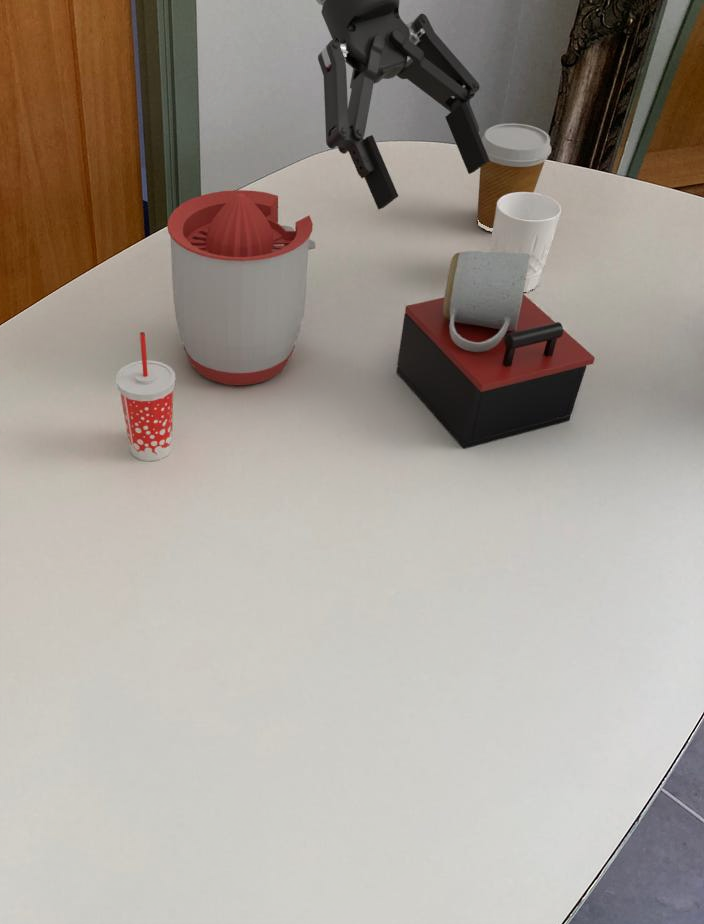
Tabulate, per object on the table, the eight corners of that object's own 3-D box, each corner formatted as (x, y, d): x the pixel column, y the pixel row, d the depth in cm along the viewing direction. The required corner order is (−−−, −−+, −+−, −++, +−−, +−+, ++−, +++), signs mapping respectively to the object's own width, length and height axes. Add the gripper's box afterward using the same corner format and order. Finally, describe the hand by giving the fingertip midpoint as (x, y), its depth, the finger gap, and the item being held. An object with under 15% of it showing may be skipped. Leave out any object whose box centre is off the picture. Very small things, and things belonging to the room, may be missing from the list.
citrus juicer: (342, 364, 118) (358, 197, 103) (222, 414, 112) (221, 244, 96) (264, 307, 127) (269, 145, 111) (149, 351, 120) (137, 185, 105)
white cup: (531, 302, 127) (550, 226, 119) (473, 286, 130) (487, 211, 122) (550, 274, 131) (569, 200, 124) (493, 260, 134) (509, 186, 127)
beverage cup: (190, 450, 107) (185, 335, 97) (144, 473, 105) (134, 358, 94) (156, 423, 111) (149, 310, 100) (111, 445, 108) (98, 330, 97)
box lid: (593, 364, 104) (605, 326, 101) (481, 392, 101) (489, 354, 98) (509, 288, 114) (517, 252, 111) (404, 312, 111) (410, 275, 108)
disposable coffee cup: (539, 215, 142) (560, 128, 133) (524, 245, 137) (545, 156, 128) (474, 203, 145) (490, 117, 136) (457, 232, 139) (472, 144, 130)
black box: (569, 420, 110) (588, 360, 105) (463, 449, 107) (476, 387, 101) (495, 348, 120) (509, 289, 114) (395, 372, 117) (404, 312, 111)
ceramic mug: (445, 297, 111) (457, 232, 105) (519, 307, 110) (535, 241, 104) (433, 350, 105) (444, 283, 99) (511, 361, 103) (528, 294, 97)
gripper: (417, -14, 110) (491, 169, 114) (241, 35, 100) (328, 234, 104) (460, -60, 103) (538, 136, 107) (275, -12, 94) (368, 202, 97)
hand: (435, 185), depth 105 cm, fingers open, 13 cm apart
